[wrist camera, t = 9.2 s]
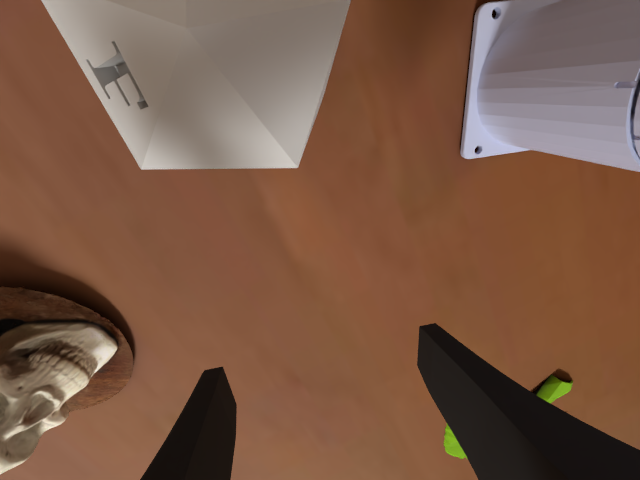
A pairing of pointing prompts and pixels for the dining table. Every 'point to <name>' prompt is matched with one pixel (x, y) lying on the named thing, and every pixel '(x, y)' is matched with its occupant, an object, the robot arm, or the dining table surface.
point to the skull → (52, 366)
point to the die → (206, 75)
